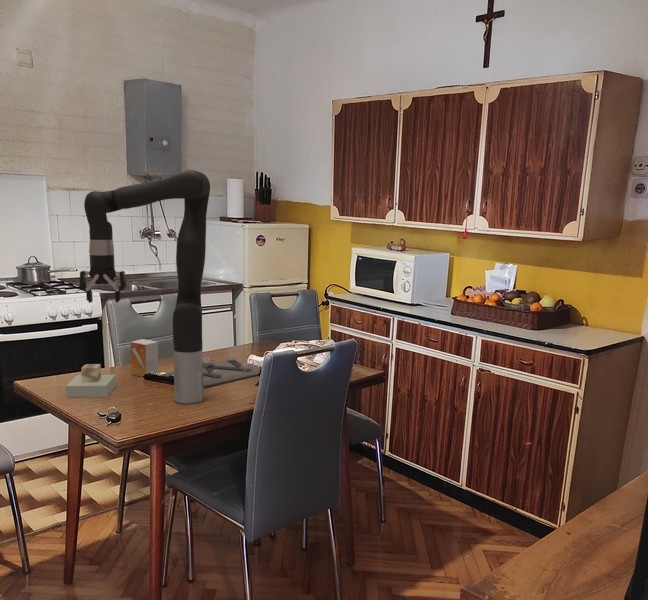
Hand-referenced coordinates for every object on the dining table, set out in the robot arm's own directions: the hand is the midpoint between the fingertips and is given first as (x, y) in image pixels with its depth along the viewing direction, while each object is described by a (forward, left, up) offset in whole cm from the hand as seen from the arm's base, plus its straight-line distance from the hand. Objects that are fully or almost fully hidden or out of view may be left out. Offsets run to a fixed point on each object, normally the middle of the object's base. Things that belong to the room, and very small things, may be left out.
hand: (103, 302), depth 192 cm
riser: (+6, -4, -32) cm, 33 cm away
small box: (-8, -24, -32) cm, 41 cm away
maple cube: (+6, -4, -28) cm, 29 cm away
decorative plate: (-35, -23, -33) cm, 53 cm away
